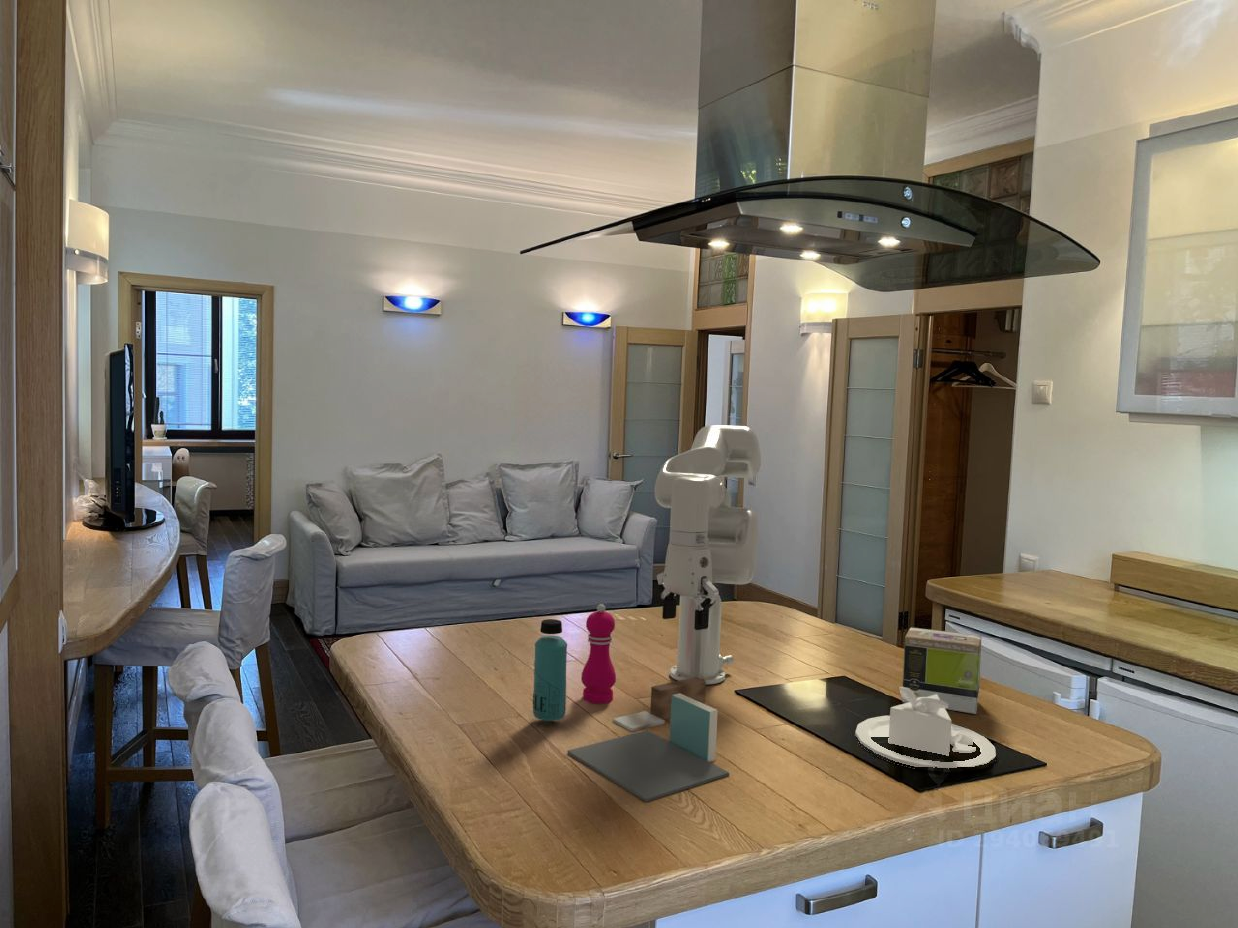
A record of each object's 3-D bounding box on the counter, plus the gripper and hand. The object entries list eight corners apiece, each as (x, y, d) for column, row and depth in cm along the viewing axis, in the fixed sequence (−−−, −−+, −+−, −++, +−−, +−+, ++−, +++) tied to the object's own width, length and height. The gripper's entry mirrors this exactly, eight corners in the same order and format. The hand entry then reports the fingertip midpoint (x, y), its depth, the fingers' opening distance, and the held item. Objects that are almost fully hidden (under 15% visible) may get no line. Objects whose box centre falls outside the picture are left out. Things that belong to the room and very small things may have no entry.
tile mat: (647, 732, 164) (647, 729, 163) (729, 775, 146) (729, 772, 146) (567, 753, 153) (567, 750, 153) (645, 801, 135) (646, 798, 135)
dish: (983, 787, 146) (987, 721, 145) (837, 750, 159) (841, 690, 158) (1005, 741, 167) (1009, 683, 166) (875, 712, 180) (878, 659, 179)
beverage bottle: (570, 719, 169) (574, 618, 167) (557, 731, 163) (560, 626, 161) (540, 714, 171) (543, 614, 169) (525, 725, 165) (528, 622, 163)
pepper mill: (611, 706, 177) (614, 609, 175) (576, 702, 178) (580, 606, 177) (618, 694, 184) (621, 601, 183) (585, 691, 185) (588, 599, 184)
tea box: (978, 701, 188) (983, 634, 187) (976, 716, 179) (981, 645, 178) (906, 689, 195) (910, 624, 194) (900, 703, 185) (904, 635, 184)
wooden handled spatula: (689, 702, 181) (691, 674, 180) (709, 711, 176) (711, 682, 176) (613, 721, 169) (614, 691, 168) (632, 731, 164) (633, 700, 163)
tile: (677, 740, 160) (679, 693, 160) (715, 759, 152) (717, 709, 152) (669, 743, 159) (671, 695, 158) (706, 762, 151) (709, 712, 150)
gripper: (732, 544, 168) (728, 631, 169) (674, 531, 182) (671, 612, 183) (704, 546, 164) (700, 636, 165) (646, 533, 177) (643, 616, 179)
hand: (684, 623), depth 174 cm, fingers open, 9 cm apart
